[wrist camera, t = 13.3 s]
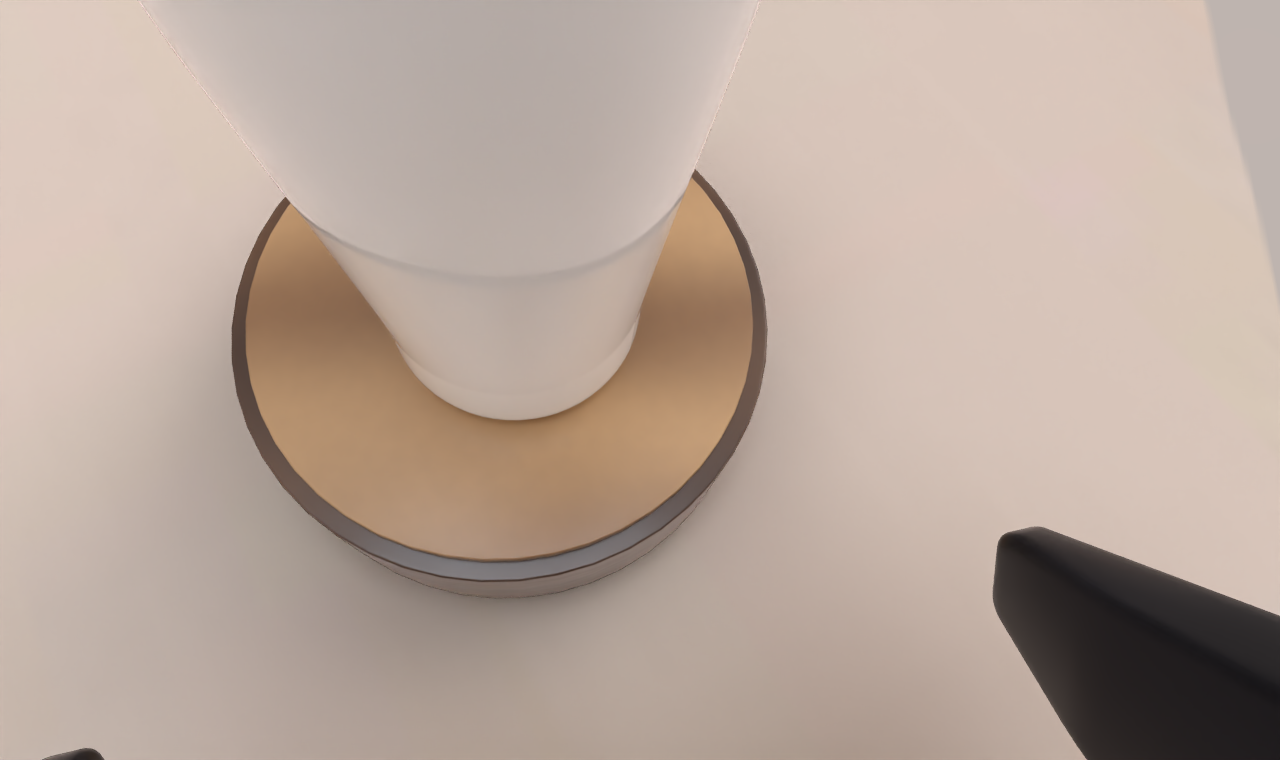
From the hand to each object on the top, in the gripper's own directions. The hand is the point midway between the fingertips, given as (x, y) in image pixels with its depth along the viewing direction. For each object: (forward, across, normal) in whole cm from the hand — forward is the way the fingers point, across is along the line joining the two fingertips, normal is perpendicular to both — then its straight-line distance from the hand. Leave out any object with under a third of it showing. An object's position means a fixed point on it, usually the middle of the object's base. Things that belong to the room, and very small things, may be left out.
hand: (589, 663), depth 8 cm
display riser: (+14, 0, +3) cm, 14 cm away
